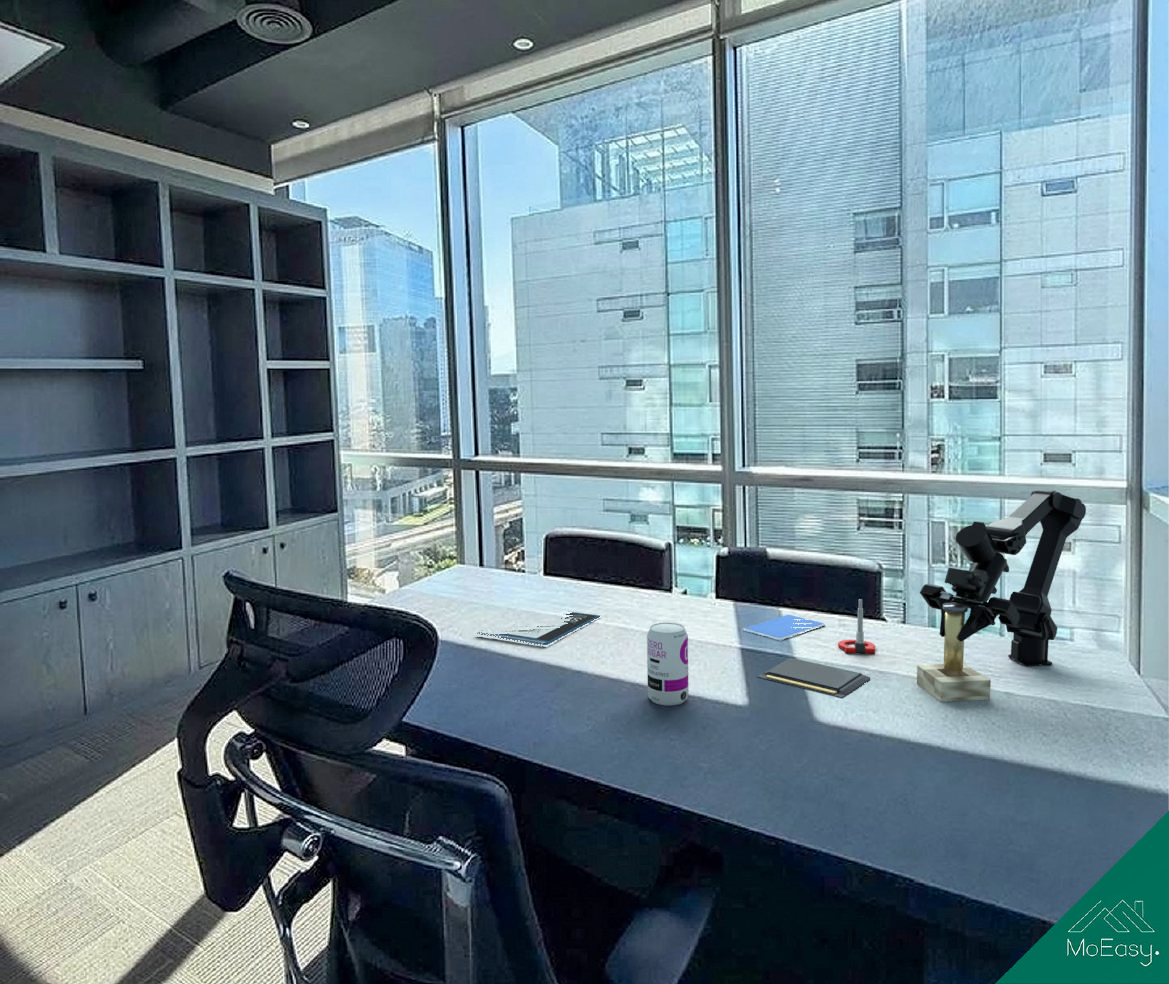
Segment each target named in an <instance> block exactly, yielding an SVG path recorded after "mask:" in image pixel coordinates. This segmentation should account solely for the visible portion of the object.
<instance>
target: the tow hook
mask: <svg viewBox="0 0 1169 984" xmlns="http://www.w3.org/2000/svg"><path fill="white" fill-rule="evenodd" d="M863 623H864V608H863V599H860V598H859V599H858V607H857V630H856V633H855V634H856V635H855V636H856V637H855V638H856V639H843V640H840V641H838V643H837V647H838V648H840V649H841V650H844V652H845V654H855V653H860V654H859V655H870V654H871V655H872V654H873V655H875V653H876V645H875V643H873V642H871V641H867V640H865V639H864V637H865V636H864V635H865V634H864V626H863V625H864V624H863ZM846 644H848V645H846ZM850 645H854V646H850Z"/></svg>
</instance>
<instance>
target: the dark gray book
mask: <svg viewBox="0 0 1169 984" xmlns="http://www.w3.org/2000/svg"><path fill="white" fill-rule="evenodd" d="M756 678H757V679H761V680H765V681H770V682H774V683H778V684H782V685H787V686H790V687H794V688H798V689H803V690H807V691H811V692H815V693H818V694H821V695H825V696H826V695H827V696H831V697H835V698H838V699H839V698H840V699H845V697H847V696H849V695H850V694H852V693H854V692H855V691H857V690H858V689H860V688H862V687H863V686H864V685H865V684H864V683H866V682H867V683H869V682H870V681H871V680H870V678H871V677H870V676H867V675H865V674H862V673H861V672H858V671H854V670H853V671H852V670H847V669H843V668H839V667H834V666H830V665H826V664H821V663H816V662H812V661H808V660H803V659H799V658H794V657H791V658H788V659H786V660H784V661H782V662H781V663H779V664H777V665H776V666H774V667H772V668H770V669H769V670H765V671H764V672H763V673H761V674H759V675H757V676H756ZM867 683H866V684H867ZM862 685H863V686H862ZM859 687H860V688H859ZM853 691H854V692H853Z"/></svg>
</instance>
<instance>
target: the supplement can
mask: <svg viewBox="0 0 1169 984" xmlns="http://www.w3.org/2000/svg"><path fill="white" fill-rule="evenodd" d="M688 635H689V634H688V633H687V630H686V628H685V625H682V624H680V623H676V622H657V623H654V624H651V625H650V626H649V630H648V631H647V633H646V647H647V648H646V655H647V656H646V657H647V659H646V661H647V662H646V664H647V666H646V667H647V669H646V670H647V672H646V673H647V696H648V697H647V698H649V699H650V701H651V702H652V703H654V704H657V705H660V706H668V707H669V706H677V705H681V704H683V703H685V701H686V700H688V698H689V636H688Z"/></svg>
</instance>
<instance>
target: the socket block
mask: <svg viewBox="0 0 1169 984" xmlns="http://www.w3.org/2000/svg"><path fill="white" fill-rule="evenodd" d="M991 682H992V681H991V679H989V677H987V676H985V675H984V674H981V672H979V671H977V670H975V669H974V668H972V667H971V666H969V665H968V664H965V663H964V662H963V670H962V671H950V670H947V669H945V668H944V663H939V664H938V663H936V664H918V665H917V666H916V684H917V685H918V686H919V687H920V688H922V689H923V690H925V691H926V692H927V693H929V694H930V695H931V696H932V695H933V696H932V697H934V698H935V699H936V700H938V701H941V703H944V702H946V703H947V702H948V701H949V702H966V701H967V702H968V701H985V700H986V701H989V700H988V699H990V700H991V686H992V685H991Z"/></svg>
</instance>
